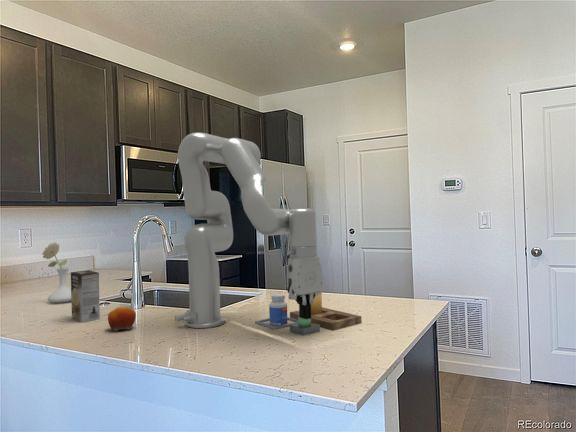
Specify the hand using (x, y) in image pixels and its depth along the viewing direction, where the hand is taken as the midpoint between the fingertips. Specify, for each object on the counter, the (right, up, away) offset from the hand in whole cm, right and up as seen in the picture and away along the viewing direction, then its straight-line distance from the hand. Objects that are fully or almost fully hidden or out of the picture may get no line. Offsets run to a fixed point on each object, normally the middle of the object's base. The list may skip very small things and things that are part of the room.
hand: (305, 318), depth 119 cm
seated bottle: (+3, -4, +15) cm, 16 cm away
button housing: (0, -5, 0) cm, 5 cm away
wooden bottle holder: (+6, -5, +11) cm, 14 cm away
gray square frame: (-8, -5, +10) cm, 13 cm away
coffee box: (-74, -7, +27) cm, 79 cm away
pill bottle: (-8, -5, +10) cm, 13 cm away
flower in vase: (-99, -7, +58) cm, 115 cm away
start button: (0, -2, 0) cm, 2 cm away
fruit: (-56, -7, +12) cm, 57 cm away
